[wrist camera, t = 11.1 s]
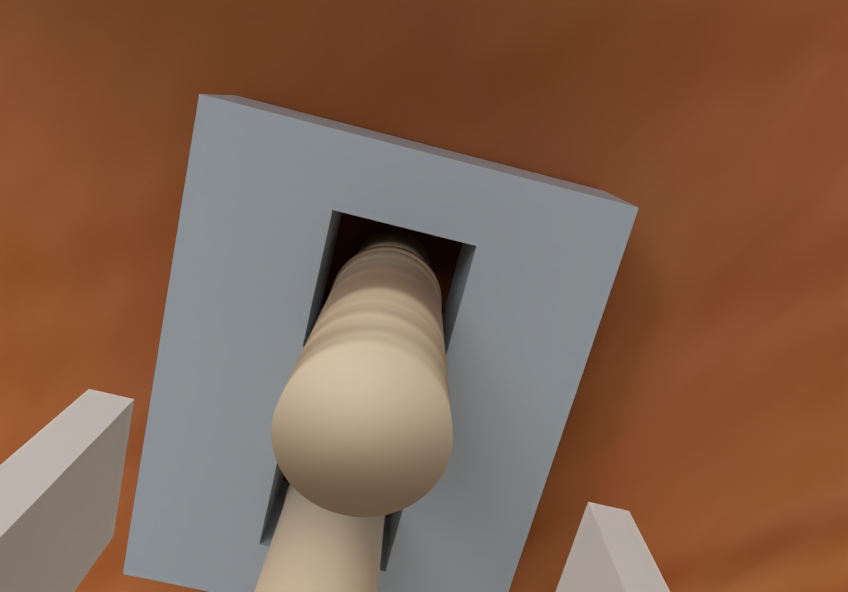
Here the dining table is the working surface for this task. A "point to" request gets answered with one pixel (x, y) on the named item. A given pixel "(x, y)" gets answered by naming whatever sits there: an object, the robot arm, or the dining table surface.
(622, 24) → the dining table surface
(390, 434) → the beech leg
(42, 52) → the dining table surface
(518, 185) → the seat board
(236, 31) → the dining table surface
